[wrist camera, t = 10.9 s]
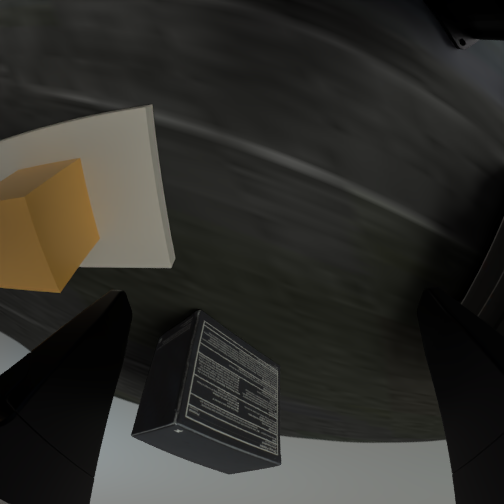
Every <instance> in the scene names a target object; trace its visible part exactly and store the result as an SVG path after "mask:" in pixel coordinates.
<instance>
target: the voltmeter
mask: <svg viewBox="0 0 504 504" xmlns="http://www.w3.org/2000/svg"><path fill="white" fill-rule="evenodd" d="M459 303H460V304H462V305H463V306H465V307H466V308H467V309H469V310H470V311H471V312H473V313H474V314H475V315H477V316H478V317H479V318H481V319H482V320H483V321H485V322H486V323H487V324H488V325H490V326H491V327H492V328H494V329H495V330H496V331H497V332H499V333H500V334H501V335H503V336H504V217H503V220H502V222H501V225H500V227H499V229H498V232H497V234H496V236H495V238H494V241H493V243H492V245H491V247H490V249H489V251H488V253H487V256H486V258H485V260H484V262H483V264H482V266H481V268H480V270H479V272H478V274H477V275H476V277H475V279H474V281H473V283H472V285H471V287H470V289H469V290H468V292H467V294H466V296H465V298H464V299H463V300H462V301H460V302H459Z"/></svg>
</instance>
